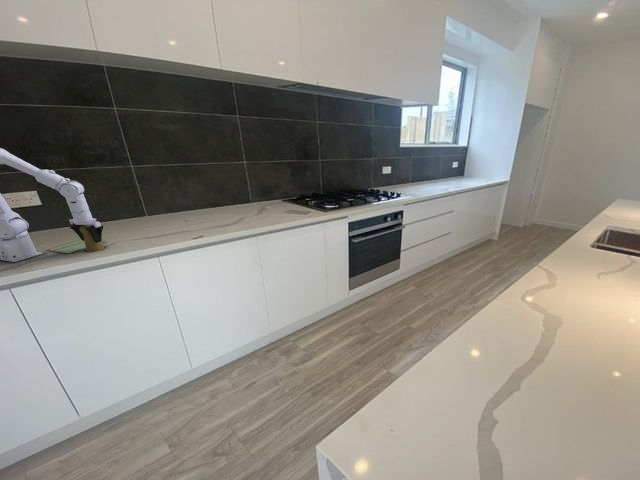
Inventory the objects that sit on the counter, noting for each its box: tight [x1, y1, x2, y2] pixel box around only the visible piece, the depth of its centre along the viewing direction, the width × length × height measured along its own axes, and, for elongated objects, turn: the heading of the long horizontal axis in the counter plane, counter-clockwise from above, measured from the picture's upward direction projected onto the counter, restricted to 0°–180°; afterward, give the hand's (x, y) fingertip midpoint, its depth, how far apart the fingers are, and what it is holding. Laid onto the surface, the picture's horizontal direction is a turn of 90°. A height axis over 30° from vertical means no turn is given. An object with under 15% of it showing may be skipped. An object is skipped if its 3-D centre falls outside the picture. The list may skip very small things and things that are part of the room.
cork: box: [79, 225, 105, 252], centre depth 131 cm, size 6×6×11 cm
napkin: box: [47, 239, 104, 255], centre depth 135 cm, size 14×12×1 cm
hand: (92, 240), depth 132 cm, fingers open, 7 cm apart
